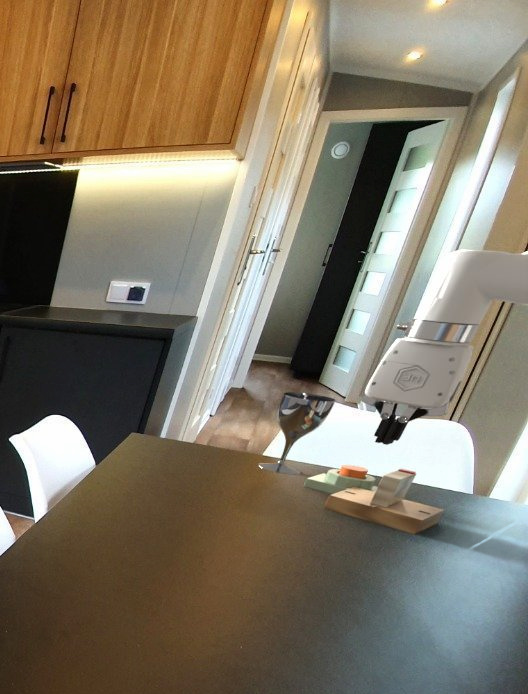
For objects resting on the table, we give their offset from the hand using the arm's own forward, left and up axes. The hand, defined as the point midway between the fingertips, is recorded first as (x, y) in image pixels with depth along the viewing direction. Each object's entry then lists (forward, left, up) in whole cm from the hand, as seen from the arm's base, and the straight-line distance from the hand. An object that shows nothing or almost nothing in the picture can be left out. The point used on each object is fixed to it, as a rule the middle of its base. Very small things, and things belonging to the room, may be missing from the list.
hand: (383, 442), depth 110 cm
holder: (-5, +5, -9) cm, 11 cm away
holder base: (-5, +5, -11) cm, 13 cm away
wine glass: (+16, -9, -11) cm, 21 cm away
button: (+3, -4, -8) cm, 9 cm away
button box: (+3, -4, -11) cm, 12 cm away
